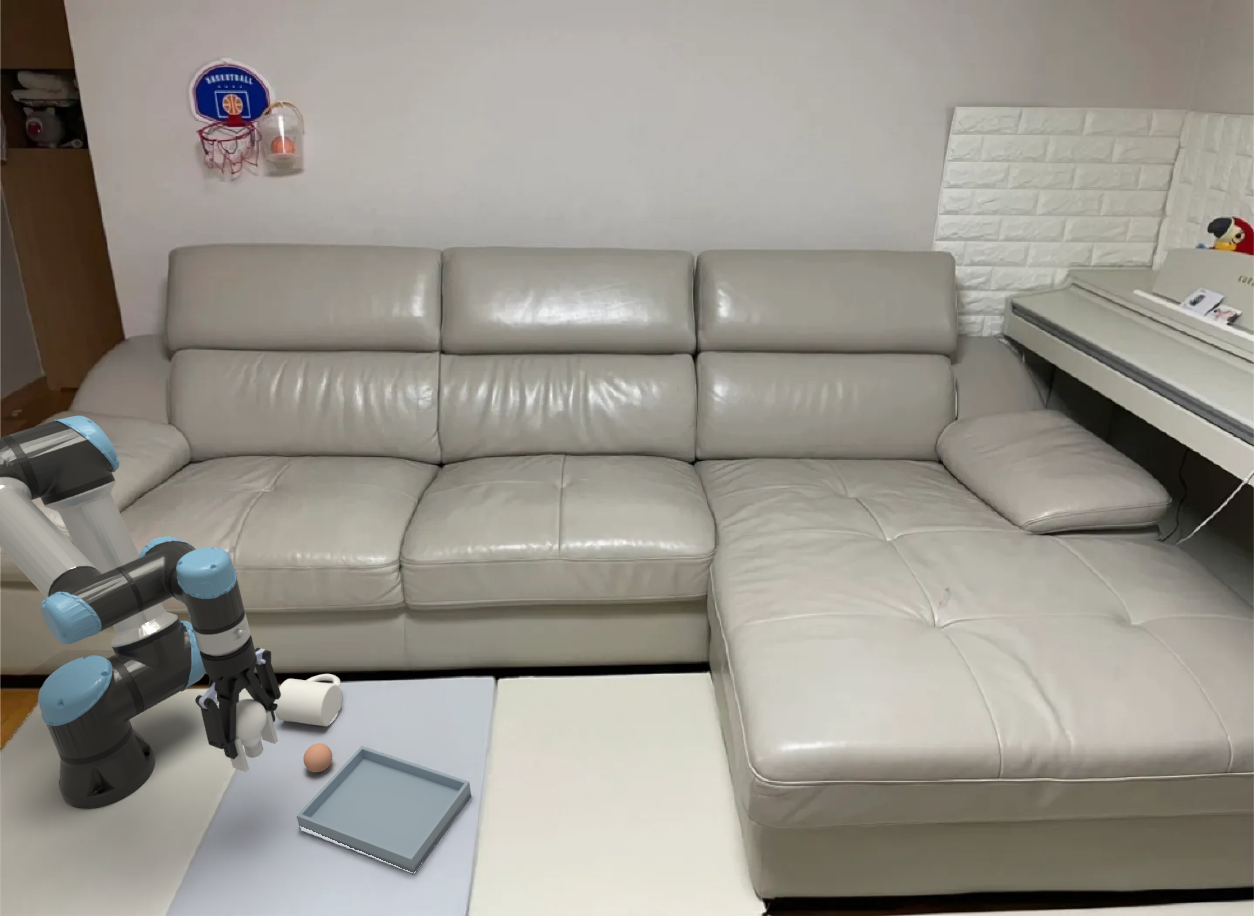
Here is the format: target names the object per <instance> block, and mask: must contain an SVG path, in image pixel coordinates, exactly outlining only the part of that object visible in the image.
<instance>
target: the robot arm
mask: <svg viewBox="0 0 1254 916" xmlns="http://www.w3.org/2000/svg"><path fill="white" fill-rule="evenodd" d="M119 468H120V459H119V458H118V453H117V451H116V449H115V447H114V445H113V443H112V442H111V441H110V438H109V437H108V436H107V434H106V433H105V432H104V430H103V429H102V428H101V427H100V426H99V425H98V424H97V423H95V422H94V421H93V420H92V419H90V418H88V417H86V416H83V415H74V416H69V417H64V418H60V419H54V420H52V421H50V422H47V423H43V424H39V425H37V426H34V427H31V428H28V429H24V430H20V431H18V432H17V431H16V432H14V433H12V434H11V433H10V434H7V435H5V436H2V437H0V548H1V550H2V551H3V552H4V553H5V554H6V555H7V556H8V558H10V560H11V561H12V562H13V563H14V564H15V565H16V566H17V568H19V570H20V571H21V572H22V573H23V575H24V576H26V577H27V579H28V580H29V581H30V582H31V583H32V584H33V585H34V586H35V588H37V590H38V591H39V592H40V593H41V595H43V596H44V597H45V599H43V600H42V601H41V602H40V607H39V608H40V613H41V616H42V618H43V619H42V620H43V621H44V623H45V625H46V628H48V630H49V631H50V632H51V634H52V637H54V639H55V640H56V641H57V642H59V643H61V644H63V645H72V644H75V643H76V642H79V641H82V640H85V639H88V638H90V637H93V636H95V635H98V634H99V633H101V632H103V631H104V630H106V629H108V628H111V627H112V628H113V629H114V632H115V633H114V636H113V638H112V641H111V643H110V645H111V649H112V650H113V651H114V652H113V653H114V654H113V655H112V656H110V657H107V658H106V657H104V656H101V655H95V654H94V655H88V656H86V657H83V656H82V657H78V658H75V659H72V660H71V661H69V662H67V663H64V664H63V665H61V666H60V667H59V668H57V669H56V670H54V671H53V672H52V673H51V674H50V675H49V676H48V677H47V678H46V679H45V681H44V682H43V683H42V686H41V687H40V689H39V692H38V695H37V702H38V705H39V708H40V713H41V719H42V720H43V721H44V724H46V727H47V729H48V731H49V734H50V737H51V739H52V741H53V744H54V746H55V748H56V751H57V753H58V756H59V759H60V763H59V764H60V765H59V780H58V786H59V791H60V793H61V795H62V798H63V799H64V801H65V802H66V804H69V805H70V806H72V807H74V808H80V809H94V808H99V807H103V806H106V805H110V804H113V803H115V802H118V801H119V800H122V799H124V798H126V797H128V796H129V795H130V794H132V793H134V792H135V791H136V790H137V789H139V788H140V787H141V786H142V785H143V784H145V782H146V781H147V780H148V779H149V777H150V776H151V774H152V773H153V771H154V768H155V764H156V759H155V755H154V752H153V748H152V746H151V745H150V744H149V742H147V740H145V738H143V736H141V735H140V733H138V732H137V731H136V730H135V729H134V727H133V725H132V722H131V719H133V718H134V717H136V716H138V715H140V714H142V713H143V712H146V711H147V710H150V709H151V708H153V707H154V706H157V705H158V704H160V703H162V702H163V701H165V700H168V699H170V698H171V697H172V696H175V695H177V694H178V693H182V692H185V690H187V689H188V688H189V687H191V686H193V685H194V684H196V683H197V682H198V681H200V680H201V679H202V678H203V677H204V676H205V674H207V675H208V679H209V681H208V689H206V690H207V691H206V692H205V693H204V694H203V695H201V694H198V695H197V696H196V697H195V700H194V701H195V703H196V704H197V706H198V707H199V708H200V712H201V717H202V721H203V725H204V730H205V732H206V733H205V734H206V738H207V742H208V745H209V746H211V747H214V748H215V749H220V750H223V752H224V756H225V757H226V758H229V759H230V762H231V763H230V764H231V765H232V768H234V769H237V770H238V771H239V770H240V771H242V772H244V773H246V772H247V771H248V770H249V769H250V767H249V763H248V761H247V755H246V752H245V749H244V746H243V745H242V742H241V739H240V738H237V737H236V704H237V703H238V702H239V700H240V693H241V692H242V691H243V690H244V689H245V691H247V693H248V694H249V696H250V697H251V699H253V700H256V701H258V702H259V703H261V704H262V705H263V707H264V708H265V710H266V714H267V720H266V724H265V726H264V728H263V730H262V736H261V741H265V742H267V743H268V742H269V743H271V744H274V745H275V744H277V743H278V742H279V739H278V736H277V732H276V727H275V724H274V722H276V714H275V710H276V709H277V707H278V705H277V704H275V700H276V699H277V700H278V699H279V698H280V697H281V692H280V689H279V687H280V686H279V683H278V681H277V677H276V675H275V671H274V668H273V664H272V651H271V650H268V649H264V648H260V647H256V648H255V644H254V641H253V637H252V635H251V629H250V626H249V622H248V617H247V613H246V611H245V606H244V602H243V598H242V595H241V590H240V587H239V586H240V585H239V581H238V576H237V574H238V573H237V572H236V571H237V569H236V567H235V566H234V564H233V561H232V558H231V555H230V554H229V553H228V552H227V550H225V549H223V548H220V547H215V548H214V547H212V546H207V547H200V548H195V546H193V545H192V544H190V543H189V542H187V541H184V540H182V539H179V538H178V537H174V536H168V535H165V536H160V537H156V538H154V539H152V540H151V541H149V542H148V543H147V544H146V545H145V546H144V547H143V548H142V549H141V551H140V553H139V552H138V549H137V546H136V545H135V543H134V541H133V538H132V537H131V533H130V532H129V530H128V527H127V525H126V523H125V521H124V519H123V517H122V515H121V513H120V510H119V508H118V505H117V503H116V502H115V499H114V496H113V495H112V491H113V489H114V487H115V484H116V482H117V481H116V479H115V477H114V474H113V473H115V472H116V471H117V470H119ZM36 499H40V500H41V501H42V504H43V506H44V507H45V508H46V509H49V510H50V509H51V510H53V511H56V512H57V513H58V514H59V515H60V518H61V520H62V522H63V524H64V527H65V528H66V531H67V533H68V534H69V537H70V539H69V538H68V537H67V536H66V534H64V533H63V532H62V531H61V530H60V528H59V527H58V526H57V525H56V524H55V523H54V522H53V521H52V520H51V519H50V518H49V517H48V516H47V515H46V514H45V513H44V512H43V511H42V510H41V509H40V507H38V506H37V505H36V503H34V502H33V500H36ZM171 598H174V599H176V600H177V601H179V602H181V603H182V604H183V605H184V606H185V608H186V611H187V613H188V617H189V619H190V621H187V620H180V618H179V617H178V614H175V613H173V612H168V611H167V610H165V608H164V606H163V602H165V601H167V600H169V599H171ZM255 670H256V673H257V675H256V673H255ZM257 676H258V677H257Z"/></svg>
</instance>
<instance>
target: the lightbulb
mask: <svg viewBox="0 0 1254 916" xmlns="http://www.w3.org/2000/svg"><path fill="white" fill-rule="evenodd" d="M266 720H267V714H266V710H265V708H264V707H263V705H262V704H261V703H259V702H258V701H256V700H254V699H253V698H242V699H239V702H238V703H237V704H236V737H237V738H240V739H241V742H242V746H243V749H244V753H245V756H246V758H250V759H254V758H257V757H260V755H262V753H263V752H264V747H263V744H262V730H263V728H264V726H265V724H266Z"/></svg>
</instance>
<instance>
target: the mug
mask: <svg viewBox="0 0 1254 916" xmlns="http://www.w3.org/2000/svg"><path fill="white" fill-rule="evenodd" d="M321 681H322V682H321ZM323 681H329V682H332V683H329V682H328V683H327V682H323ZM279 689H280V692H281V697H280V698H279V699H278V700H277V699H276V700H275V701H274V703H275V704H277V705H278V707H277V709H276V710H275V711H274V714H275V717H276V718H277V719H278V720H279V721H285V722H291V723H292V722H293V723H298V724H306V725H315V726H321V727H329V726H330V725H329V724H330V722H331V721H332V719H333V718H334V717H335V715H336V714H337V713H338V711H339V710H341V706H342V701H343V699H342V698H343V697H342V690H341V679H340V678H339V677H338V676H336V675H335V674H330V673H324V674H323V673H322V674H318V675H315V676H311V677H310V678H307V679H306V680H303V679H297V678H296V679H295V678H287V679H286V680H284V681H283V682H282V683H281V685H280V686H279ZM339 712H340V711H339ZM328 725H329V726H328Z"/></svg>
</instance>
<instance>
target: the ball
mask: <svg viewBox="0 0 1254 916" xmlns="http://www.w3.org/2000/svg"><path fill="white" fill-rule="evenodd" d="M332 761H333V752H332V750H331V748H330V747H329V746H328V745H327V744H325V743H314V744H312V745H311V746H309V747H308V748H307V749H306V750H305V752H304V755H303V764H304V766H305V769H307V770H308V771H310V772H311V773H312V772H313V773H321V772H323V770H324V771H325V770H326V768H327V769H328V768H329V766H330V765H331V763H332ZM320 771H321V772H320Z"/></svg>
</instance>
